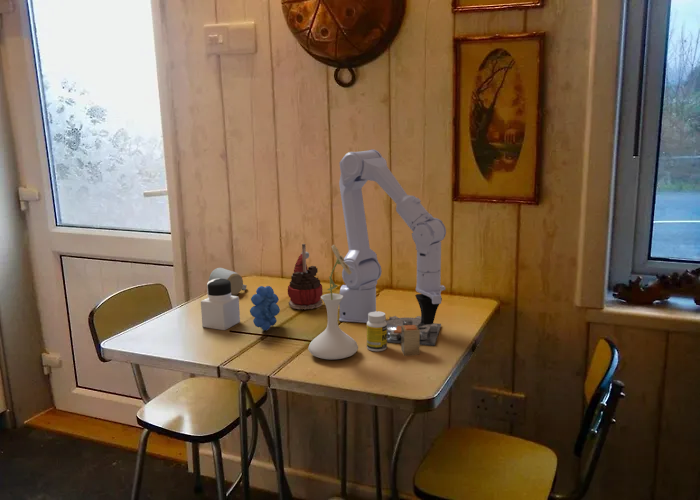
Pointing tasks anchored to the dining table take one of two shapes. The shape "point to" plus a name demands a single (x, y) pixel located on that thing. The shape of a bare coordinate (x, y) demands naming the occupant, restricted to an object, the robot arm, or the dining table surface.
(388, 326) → the sprocket
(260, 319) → the grapes
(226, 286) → the medicine bottle
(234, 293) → the ceramic mug
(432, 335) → the base plate
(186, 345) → the dining table surface
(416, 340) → the link block
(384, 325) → the supplement bottle
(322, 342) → the flower in vase
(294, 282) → the cake
